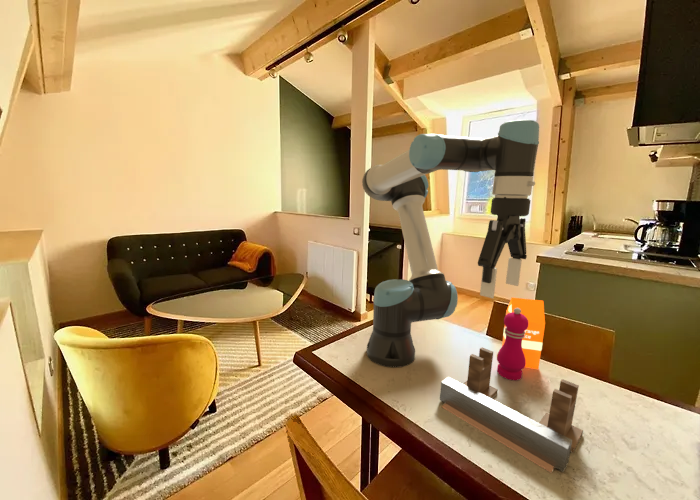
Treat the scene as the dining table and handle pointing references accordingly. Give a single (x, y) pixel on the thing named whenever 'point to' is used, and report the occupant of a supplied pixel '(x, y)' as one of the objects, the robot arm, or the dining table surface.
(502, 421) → the rail
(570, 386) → the hook stands
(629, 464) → the dining table surface
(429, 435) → the dining table surface
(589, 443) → the dining table surface
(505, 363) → the pepper mill
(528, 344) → the orange juice
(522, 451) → the mat
